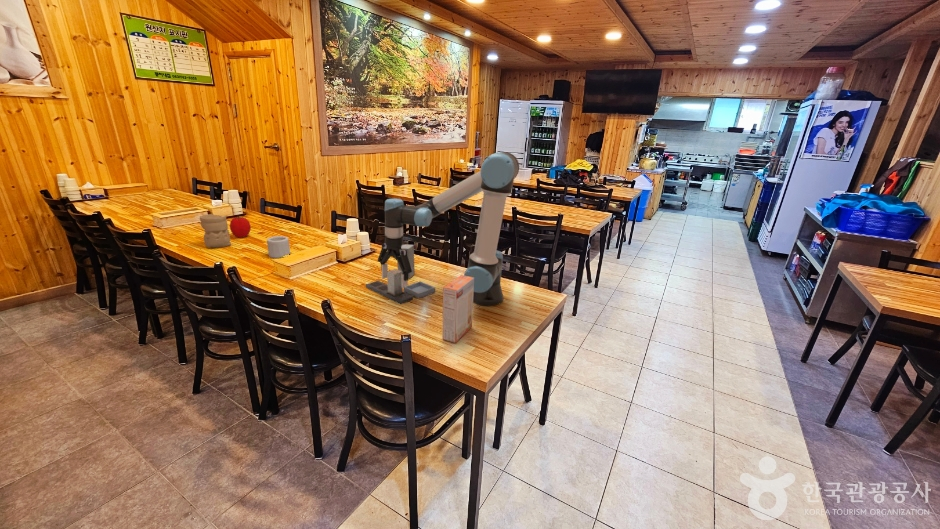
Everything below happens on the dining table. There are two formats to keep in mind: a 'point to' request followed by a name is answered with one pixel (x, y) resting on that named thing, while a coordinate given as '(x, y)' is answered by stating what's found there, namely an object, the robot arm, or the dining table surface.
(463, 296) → the cracker box
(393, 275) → the block
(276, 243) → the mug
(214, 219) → the container
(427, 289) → the parts tray
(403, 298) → the rail
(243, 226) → the red apple
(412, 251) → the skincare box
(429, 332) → the dining table surface
